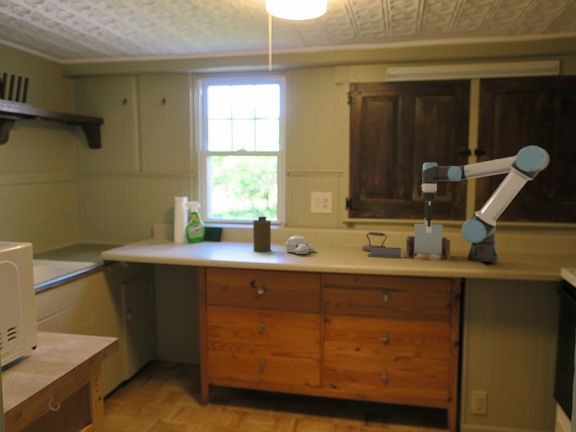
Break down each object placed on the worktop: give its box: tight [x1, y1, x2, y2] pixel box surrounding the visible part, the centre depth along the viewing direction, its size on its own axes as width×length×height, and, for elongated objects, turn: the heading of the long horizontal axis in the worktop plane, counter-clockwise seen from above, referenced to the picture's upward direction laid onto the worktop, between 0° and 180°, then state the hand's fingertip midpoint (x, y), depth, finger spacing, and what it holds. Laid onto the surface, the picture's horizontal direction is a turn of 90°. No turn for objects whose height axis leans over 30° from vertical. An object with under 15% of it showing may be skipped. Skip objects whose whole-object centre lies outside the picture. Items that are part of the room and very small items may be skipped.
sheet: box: [414, 223, 443, 254], centre depth 249 cm, size 14×2×18 cm, turn 77°
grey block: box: [367, 246, 405, 259], centre depth 254 cm, size 19×8×5 cm, turn 77°
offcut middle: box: [413, 255, 440, 261], centre depth 244 cm, size 13×5×1 cm, turn 77°
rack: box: [405, 235, 451, 261], centre depth 253 cm, size 22×15×10 cm
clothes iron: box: [361, 231, 388, 252], centre depth 268 cm, size 14×10×12 cm
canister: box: [252, 216, 272, 253], centre depth 274 cm, size 11×10×20 cm
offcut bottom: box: [414, 259, 443, 262], centre depth 244 cm, size 14×5×1 cm, turn 77°
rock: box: [285, 234, 316, 255], centre depth 269 cm, size 18×20×10 cm
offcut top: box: [417, 253, 441, 258], centre depth 244 cm, size 12×4×1 cm, turn 75°
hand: (427, 231), depth 248 cm, fingers open, 13 cm apart
